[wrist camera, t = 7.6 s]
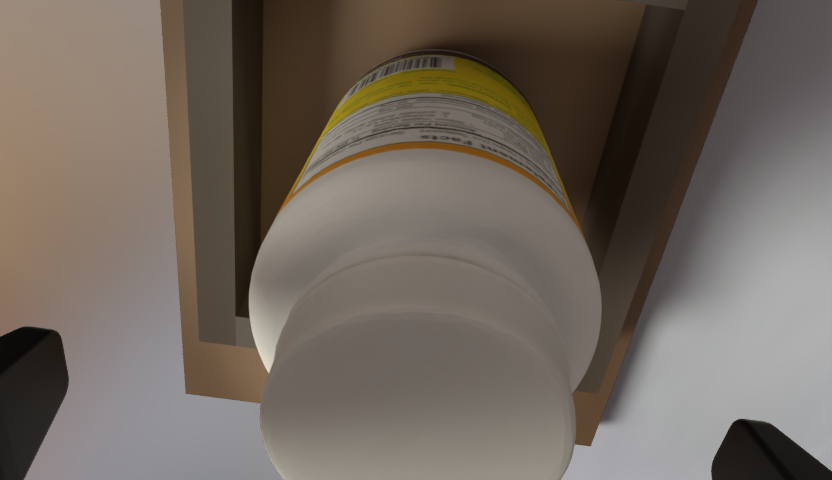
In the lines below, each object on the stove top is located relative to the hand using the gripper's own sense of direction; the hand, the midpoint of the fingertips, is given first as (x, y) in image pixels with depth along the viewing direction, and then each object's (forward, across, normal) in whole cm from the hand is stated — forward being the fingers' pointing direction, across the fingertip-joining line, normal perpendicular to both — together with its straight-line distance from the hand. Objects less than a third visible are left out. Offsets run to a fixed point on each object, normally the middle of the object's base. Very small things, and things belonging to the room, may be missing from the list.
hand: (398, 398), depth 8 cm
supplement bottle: (+10, 0, 0) cm, 10 cm away
